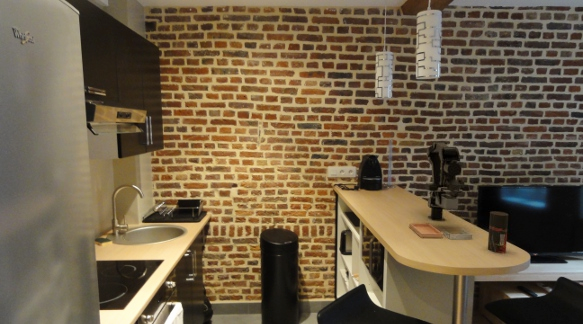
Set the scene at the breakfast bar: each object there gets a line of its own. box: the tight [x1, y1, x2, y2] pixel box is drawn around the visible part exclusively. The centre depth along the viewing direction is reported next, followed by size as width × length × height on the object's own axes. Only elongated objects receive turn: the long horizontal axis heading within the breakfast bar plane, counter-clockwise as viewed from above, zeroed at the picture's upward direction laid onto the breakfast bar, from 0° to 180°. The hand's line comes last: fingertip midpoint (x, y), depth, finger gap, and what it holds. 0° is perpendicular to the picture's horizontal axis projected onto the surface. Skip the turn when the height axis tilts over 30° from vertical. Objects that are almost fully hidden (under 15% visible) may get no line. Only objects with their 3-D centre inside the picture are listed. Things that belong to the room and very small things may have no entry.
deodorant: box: [487, 210, 509, 254], centre depth 115 cm, size 6×6×15 cm
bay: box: [440, 228, 473, 240], centre depth 131 cm, size 8×10×2 cm
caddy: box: [435, 193, 459, 211], centre depth 140 cm, size 11×5×5 cm, turn 177°
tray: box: [408, 222, 444, 239], centre depth 136 cm, size 15×9×2 cm, turn 177°
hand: (446, 204), depth 141 cm, fingers closed on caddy, 5 cm apart
